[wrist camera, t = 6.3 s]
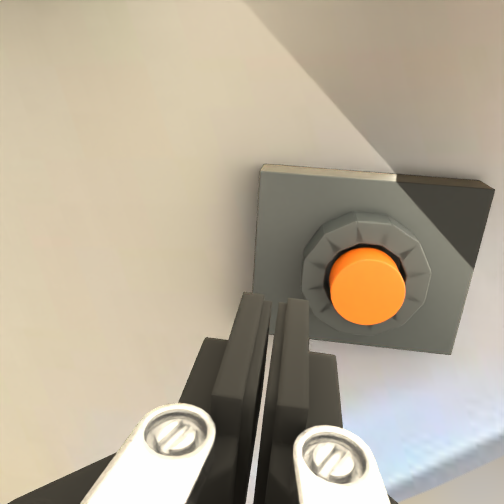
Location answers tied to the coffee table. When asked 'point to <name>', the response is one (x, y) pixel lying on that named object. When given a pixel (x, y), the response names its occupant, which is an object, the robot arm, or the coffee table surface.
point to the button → (366, 286)
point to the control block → (373, 236)
